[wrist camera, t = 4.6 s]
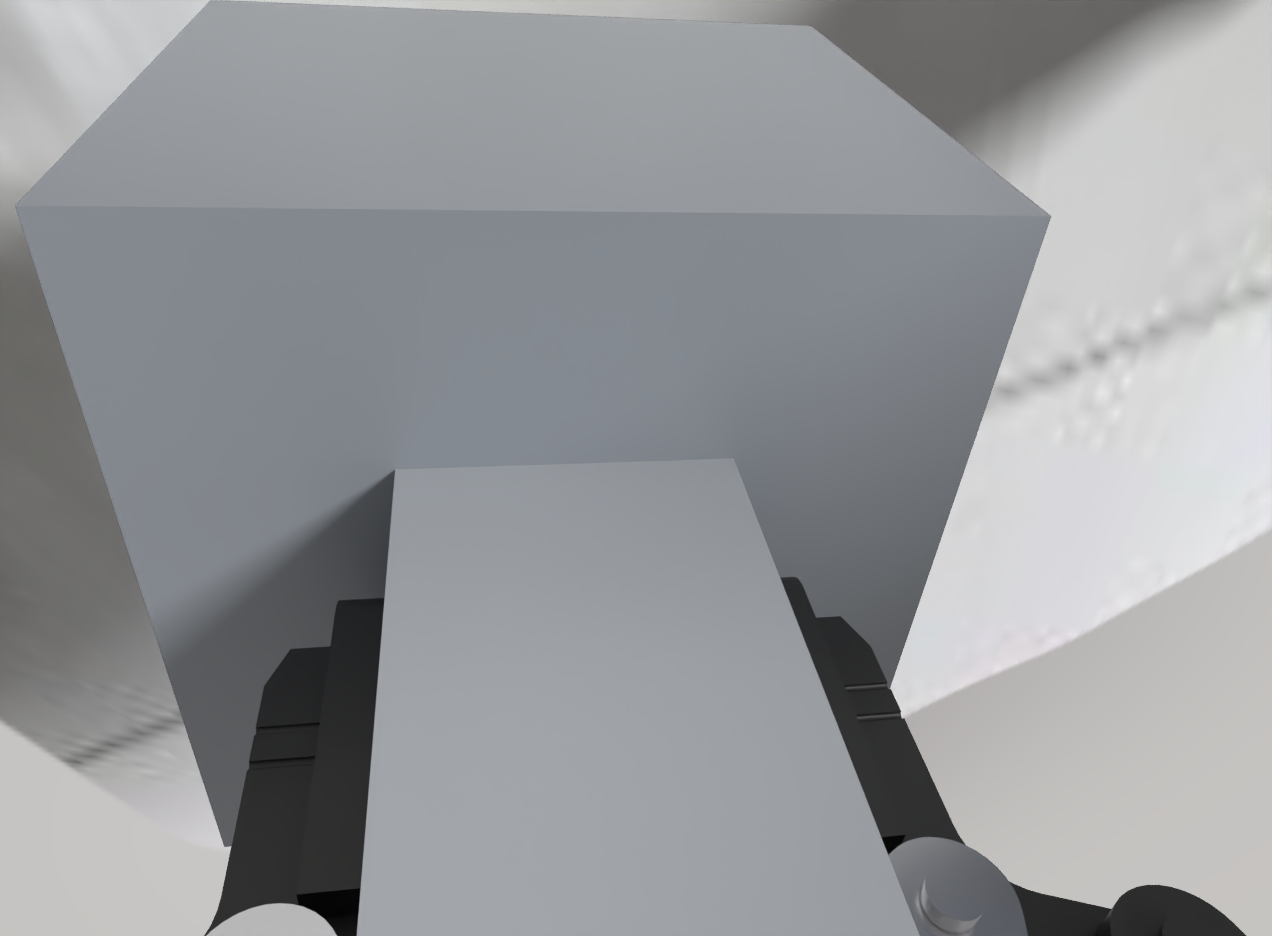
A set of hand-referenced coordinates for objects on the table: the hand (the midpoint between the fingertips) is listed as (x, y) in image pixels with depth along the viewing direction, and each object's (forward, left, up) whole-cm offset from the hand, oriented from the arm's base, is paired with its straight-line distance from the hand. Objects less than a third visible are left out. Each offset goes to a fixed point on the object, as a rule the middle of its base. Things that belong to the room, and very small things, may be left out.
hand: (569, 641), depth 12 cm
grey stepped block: (0, 0, -10) cm, 10 cm away
